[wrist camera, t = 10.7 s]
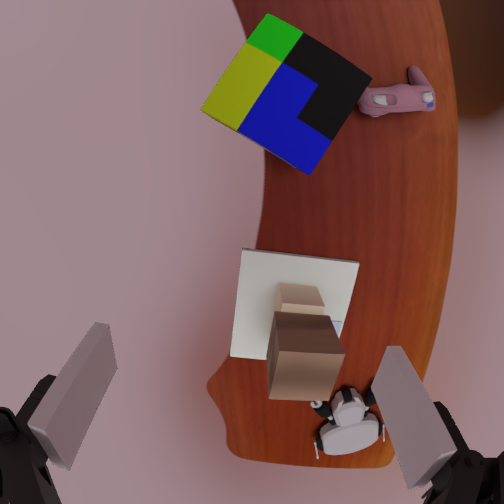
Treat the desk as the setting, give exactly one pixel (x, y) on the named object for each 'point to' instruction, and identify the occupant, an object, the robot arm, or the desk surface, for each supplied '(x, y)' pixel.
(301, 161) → the puzzle toy
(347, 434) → the robot toy
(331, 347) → the walnut block
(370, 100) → the video game controller
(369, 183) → the desk surface
